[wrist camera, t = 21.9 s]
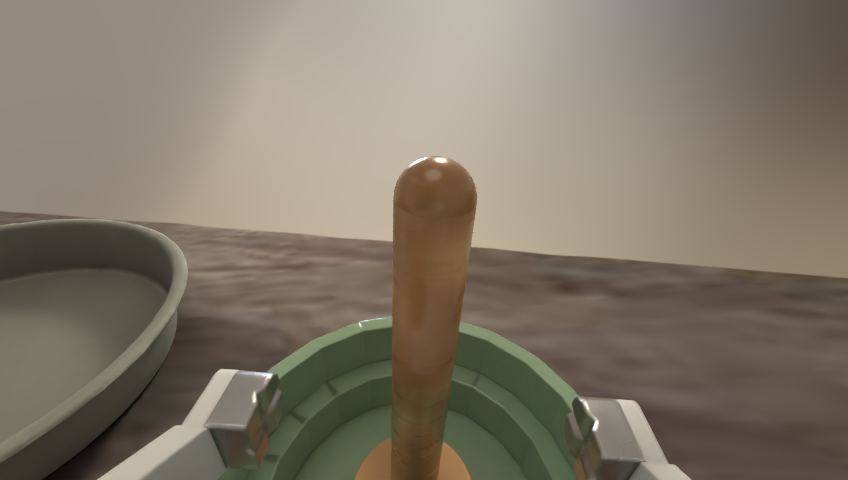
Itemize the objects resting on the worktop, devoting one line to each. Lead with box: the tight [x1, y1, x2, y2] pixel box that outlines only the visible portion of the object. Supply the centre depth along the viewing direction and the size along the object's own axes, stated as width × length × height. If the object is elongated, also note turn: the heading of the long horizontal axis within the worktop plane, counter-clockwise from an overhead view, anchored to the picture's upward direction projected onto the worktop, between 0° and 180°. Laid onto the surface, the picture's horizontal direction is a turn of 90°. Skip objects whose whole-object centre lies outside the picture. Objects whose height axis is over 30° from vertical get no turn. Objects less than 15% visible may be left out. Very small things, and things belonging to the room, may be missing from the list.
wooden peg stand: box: [354, 156, 477, 480], centre depth 12 cm, size 5×5×17 cm
